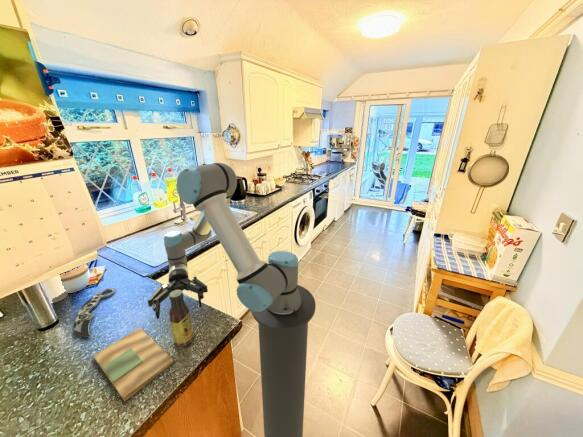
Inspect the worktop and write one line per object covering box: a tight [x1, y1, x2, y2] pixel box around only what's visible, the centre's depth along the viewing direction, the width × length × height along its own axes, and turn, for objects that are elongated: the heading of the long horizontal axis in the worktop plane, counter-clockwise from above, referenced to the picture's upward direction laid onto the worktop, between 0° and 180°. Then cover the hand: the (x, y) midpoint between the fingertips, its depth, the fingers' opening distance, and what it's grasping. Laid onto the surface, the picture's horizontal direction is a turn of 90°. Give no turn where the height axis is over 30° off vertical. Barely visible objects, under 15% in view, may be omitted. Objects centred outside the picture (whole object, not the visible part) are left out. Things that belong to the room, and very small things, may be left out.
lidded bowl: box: [60, 263, 91, 294], centre depth 106 cm, size 13×13×11 cm
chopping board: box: [93, 327, 174, 402], centre depth 75 cm, size 22×14×2 cm, turn 55°
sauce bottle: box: [168, 290, 194, 348], centre depth 79 cm, size 6×6×20 cm
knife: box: [73, 287, 115, 338], centre depth 94 cm, size 28×2×10 cm
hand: (179, 309), depth 81 cm, fingers open, 13 cm apart
